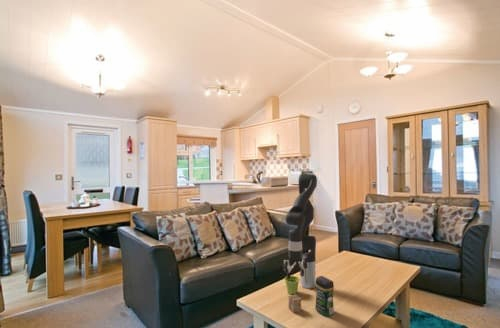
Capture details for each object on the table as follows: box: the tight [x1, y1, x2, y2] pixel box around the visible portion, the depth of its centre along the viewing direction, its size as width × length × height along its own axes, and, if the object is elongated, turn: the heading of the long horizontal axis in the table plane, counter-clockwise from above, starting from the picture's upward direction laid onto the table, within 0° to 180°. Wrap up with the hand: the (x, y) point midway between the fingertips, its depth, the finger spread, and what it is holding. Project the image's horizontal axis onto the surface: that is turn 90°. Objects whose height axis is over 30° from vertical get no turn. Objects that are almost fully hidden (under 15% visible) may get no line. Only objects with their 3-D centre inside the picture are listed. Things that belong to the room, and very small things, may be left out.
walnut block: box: [288, 294, 302, 314], centre depth 151 cm, size 5×5×7 cm
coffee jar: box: [315, 275, 335, 317], centre depth 149 cm, size 10×8×19 cm
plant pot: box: [284, 275, 301, 295], centre depth 171 cm, size 9×9×9 cm
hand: (295, 277), depth 151 cm, fingers open, 8 cm apart
